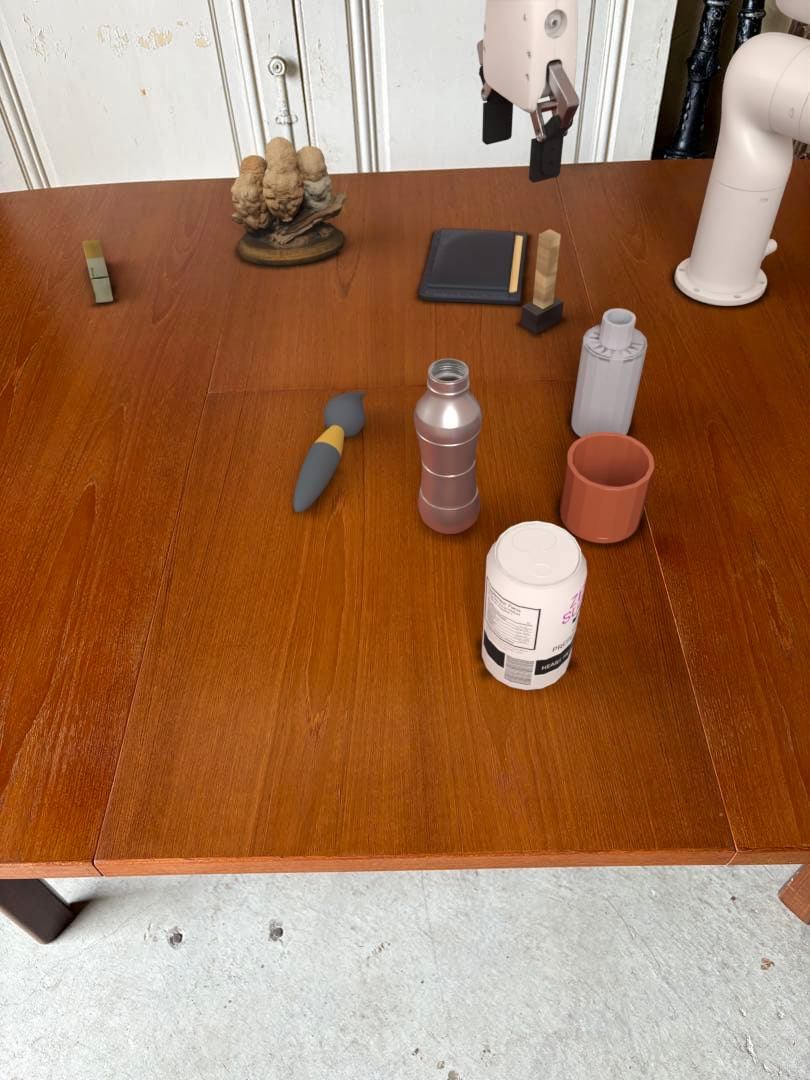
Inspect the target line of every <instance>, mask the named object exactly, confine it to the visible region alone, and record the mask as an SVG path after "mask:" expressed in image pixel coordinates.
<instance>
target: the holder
mask: <svg viewBox="0 0 810 1080" xmlns="http://www.w3.org/2000/svg"><path fill="white" fill-rule="evenodd" d="M654 472H655V460H654V455H653V454H652V453H651V451H650V450H649V448H647V446H646V445H645V444H644V443H642V442H641V441H639V440H637V439H636V438H634V437H633V436H629V435H627V434H626V435H623V434H620V433H616V432H597V433H593V434H588V435H585V436H583V437H580V438H578V439H576V440H575V441H574V442H573V443H571V445H570V447H569V449H568V451H567V453H566V460H565V466H564V473H563V480H562V487H561V492H560V501H559V517H560V519H561V521H562V523H563V525H564V527H565V528H566V530H568V531H569V532H570V533H572V534H573V535H575V536H576V537H578V538H580V539H582V540H584V541H588V542H591V543H596V544H612V543H618V542H621V541H624V540H626V539H627V538H629V537H631V536H632V535H633V534H634V533H635V532H636V531H637V530H638V528H639V526H640V523H641V519H642V517H643V514H644V511H645V508H646V507H645V506H646V503H647V499H648V494H649V491H650V488H651V483H652V480H653V475H654Z"/></svg>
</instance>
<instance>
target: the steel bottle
mask: <svg viewBox="0 0 810 1080" xmlns="http://www.w3.org/2000/svg"><path fill="white" fill-rule="evenodd" d="M636 321H637V316H636V315H635V313H634V312H632V311H631V310H628V309H625V308H619V307H618V308H617V307H616V308H610V309H608V310H606V311H604V313H603V315H602V319H601V324H597V325H594V326H593V327H591V328H588V330H586V331H585V333H584V335H583V338H582V343H581V351H580V358H579V365H578V372H577V377H576V378H577V379H576V385H575V393H574V399H573V405H572V411H571V412H572V413H571V428H572V430H573V432H574V433H575V434H576V435H577V436H578V437H580V438H581V437H583V436H585V435H588V434H593V433H597V432H616V433H620V434H623V435H627V434H628V433H629V429H630V427H631V423H632V417H633V414H634V413H633V412H634V409H635V405H636V400H637V396H638V395H637V394H638V390H639V387H640V381H641V377H642V373H643V368H644V363H645V358H646V353H647V350H648V341H647V338H646V336H645V335H644V334H643V333H642V332H641V331H640V330H638V329H637V328H635V326H636Z"/></svg>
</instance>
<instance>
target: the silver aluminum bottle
mask: <svg viewBox="0 0 810 1080" xmlns="http://www.w3.org/2000/svg"><path fill="white" fill-rule="evenodd" d="M469 377H470V371H469V367H468V365H467V364H466V363H465V362H464V361H462V360H460V359H456V358H441V359H437V360H435V361H434V362H432V363H431V364H430V365H429V367H428V370H427V380H426V389H427V390H425V392H424V394H423V395H422V396H421V397H420V398H419V400H417V402H416V405H415V407H414V410H413V411H414V412H413V422H414V428H415V432H416V435H417V436H416V437H417V440H418V445H419V450H420V457H421V480H420V486H419V491H418V499H417V509H418V511H419V512H418V513H419V515H420V517H421V520H422V522H423V523H424V524H425V525H426V526H427V527H428V528H430V529H431V530H433V531H435V532H437V533H440V534H444V535H454V534H460V533H462V532H465V531H466V530H468V529H470V527H472V526H473V525H474V524H475V523H476V521H477V520H478V517H479V514H480V510H481V506H482V505H481V504H482V503H481V496H480V491H479V488H478V483H477V471H476V458H477V449H478V447H477V446H478V442H479V438H480V433H481V429H482V428H481V426H482V422H483V412H482V409H481V406H480V403H479V401H478V400H477V398H476V397H475V395H474V394H473V393H472V392H471V391H470V390H469V389H470V378H469Z"/></svg>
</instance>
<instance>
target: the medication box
mask: <svg viewBox="0 0 810 1080" xmlns="http://www.w3.org/2000/svg"><path fill="white" fill-rule="evenodd" d="M82 247H83V254H84V258H85V263H86V268H87V271H88V276H89V280H90V284H91V290H92V294H93V297H94V302H95V304H107V303H112V302H114V297H113V291H112V285H111V282H110V281H111V280H110V277H109V272H108V269H107V264H106V261H105V260H106V259H105V257H104V253H103V250H102V245H101V241H100V239H91V240H83V241H82Z"/></svg>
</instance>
